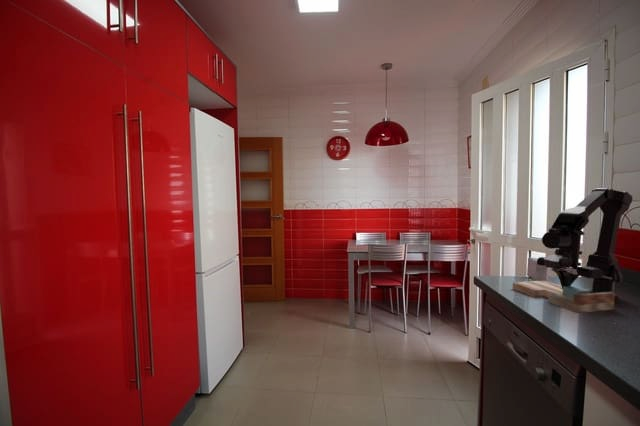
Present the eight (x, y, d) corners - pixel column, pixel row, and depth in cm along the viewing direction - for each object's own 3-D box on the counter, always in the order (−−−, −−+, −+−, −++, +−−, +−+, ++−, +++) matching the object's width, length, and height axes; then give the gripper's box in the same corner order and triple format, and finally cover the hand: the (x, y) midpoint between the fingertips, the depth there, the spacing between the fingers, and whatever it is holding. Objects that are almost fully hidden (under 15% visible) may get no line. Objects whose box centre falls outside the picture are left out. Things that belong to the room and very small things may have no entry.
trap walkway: (543, 286, 123) (544, 273, 123) (613, 309, 100) (615, 293, 99) (512, 288, 119) (513, 275, 119) (577, 312, 96) (578, 296, 96)
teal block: (573, 294, 107) (574, 285, 106) (588, 299, 102) (589, 290, 102) (562, 294, 106) (563, 286, 105) (577, 299, 101) (578, 291, 100)
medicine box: (546, 281, 130) (548, 262, 130) (534, 280, 131) (536, 261, 131) (537, 276, 138) (538, 258, 137) (526, 275, 139) (527, 257, 138)
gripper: (527, 242, 113) (523, 283, 114) (580, 253, 95) (575, 301, 96) (550, 242, 116) (546, 281, 117) (606, 252, 98) (601, 299, 99)
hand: (564, 290), depth 107 cm, fingers closed
